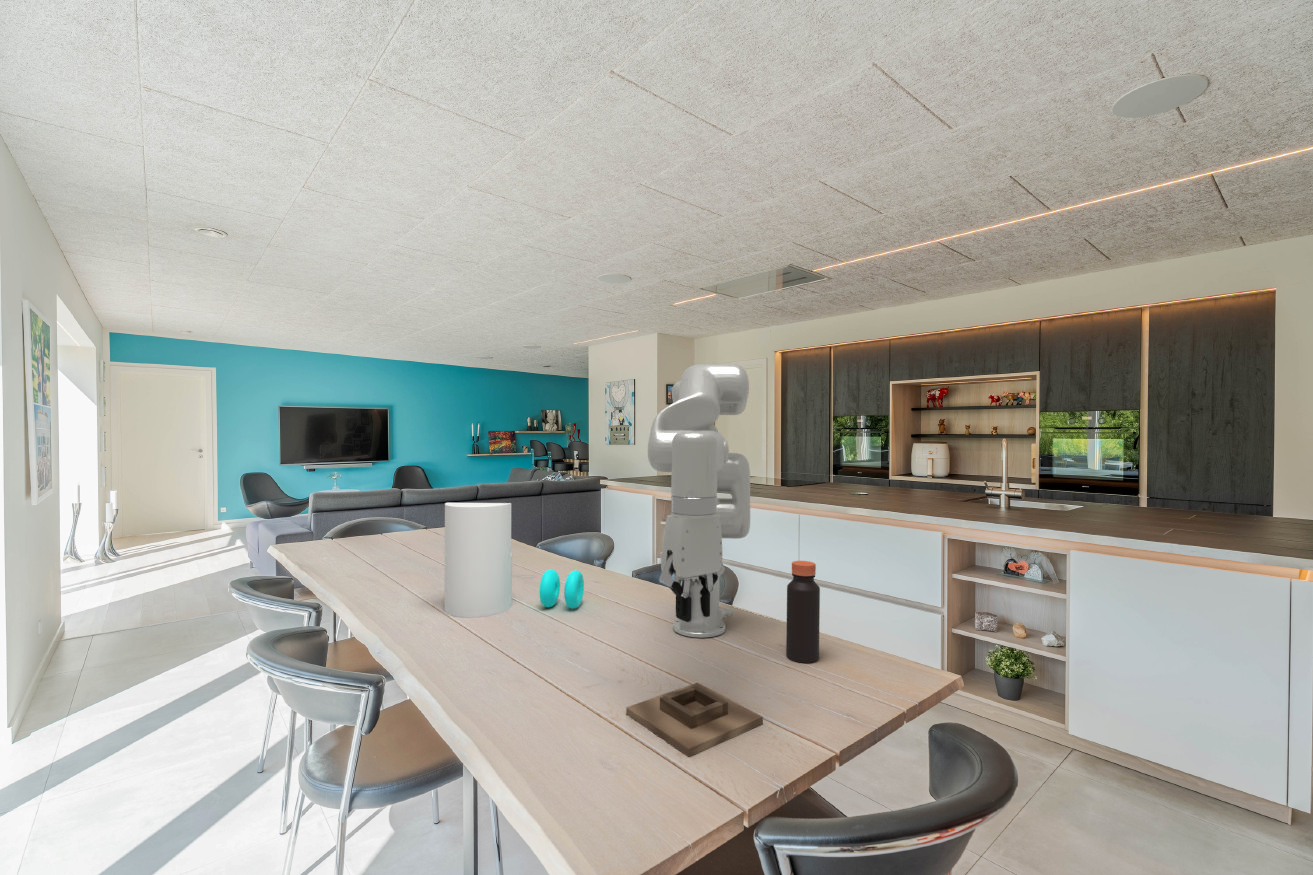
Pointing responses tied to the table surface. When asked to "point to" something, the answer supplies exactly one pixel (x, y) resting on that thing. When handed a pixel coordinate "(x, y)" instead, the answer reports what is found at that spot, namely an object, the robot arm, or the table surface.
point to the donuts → (552, 588)
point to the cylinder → (478, 559)
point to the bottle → (803, 614)
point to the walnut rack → (694, 718)
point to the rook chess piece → (694, 609)
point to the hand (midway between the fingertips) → (692, 615)
